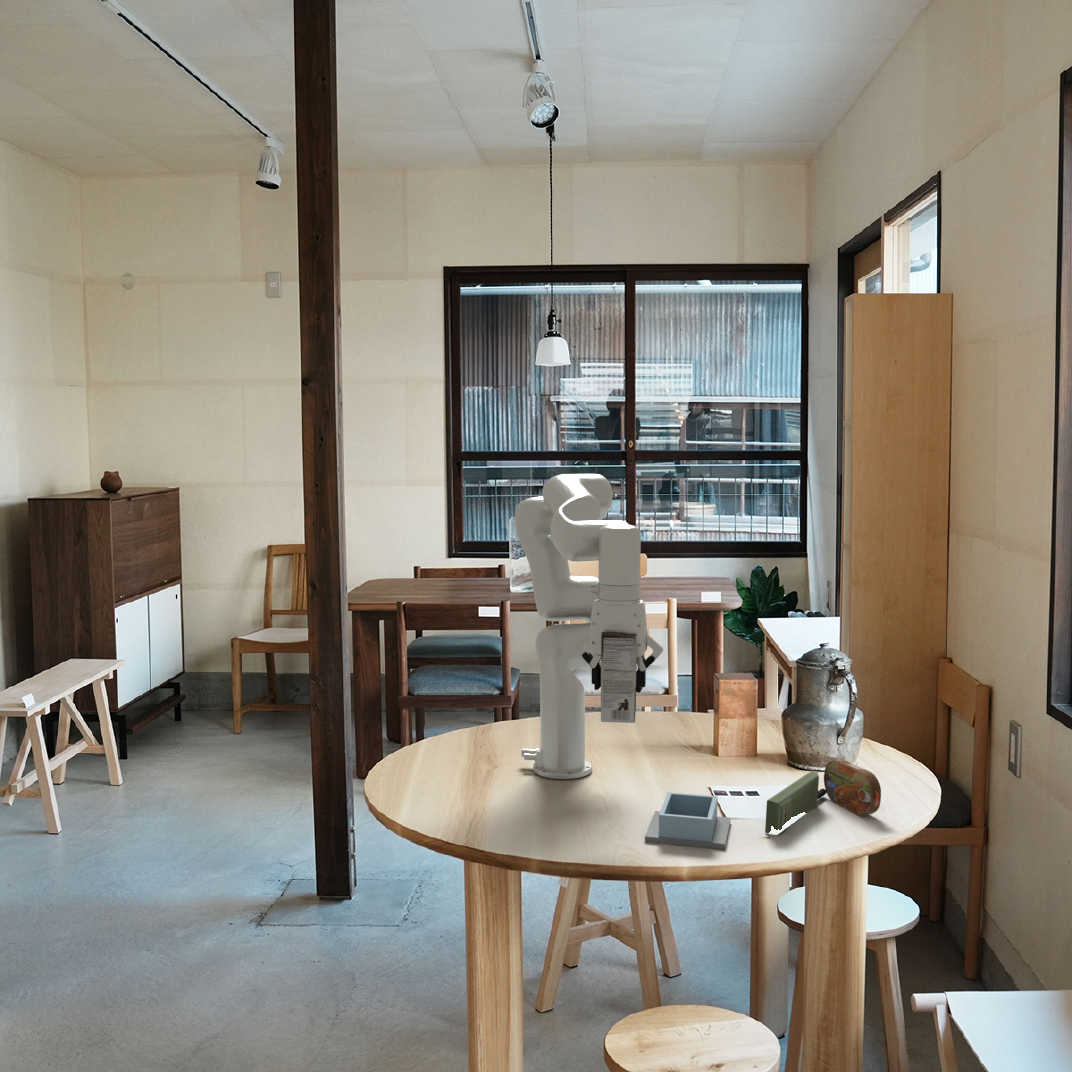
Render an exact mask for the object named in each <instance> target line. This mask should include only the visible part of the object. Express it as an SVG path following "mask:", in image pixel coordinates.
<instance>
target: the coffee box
mask: <svg viewBox="0 0 1072 1072" xmlns="http://www.w3.org/2000/svg"><path fill="white" fill-rule="evenodd" d="M636 671H637V664H636V634H626V633H618V632H602V634H601V687H600V722H602V723H623V724H624V723H627V724H628V723H629V724H630V723H631V724H634V723H636V708H637V692H636Z"/></svg>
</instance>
